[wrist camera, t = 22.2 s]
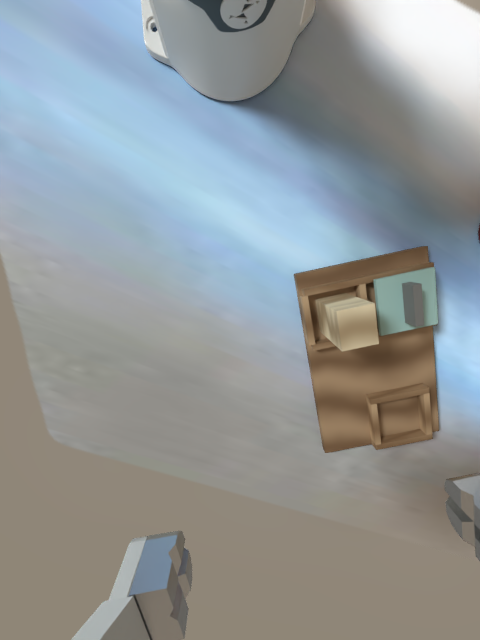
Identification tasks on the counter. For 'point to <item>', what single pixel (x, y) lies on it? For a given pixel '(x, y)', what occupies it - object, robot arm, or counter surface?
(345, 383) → the puzzle board
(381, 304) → the cover
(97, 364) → the counter surface
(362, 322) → the maple block
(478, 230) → the soda can
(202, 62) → the robot arm
